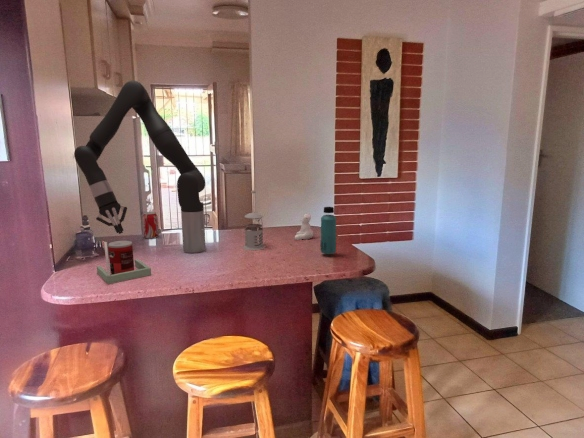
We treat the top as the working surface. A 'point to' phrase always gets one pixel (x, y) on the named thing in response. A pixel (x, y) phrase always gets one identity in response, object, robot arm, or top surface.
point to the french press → (254, 232)
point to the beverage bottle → (328, 232)
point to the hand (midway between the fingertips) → (120, 233)
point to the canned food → (121, 256)
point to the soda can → (150, 225)
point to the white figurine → (304, 229)
